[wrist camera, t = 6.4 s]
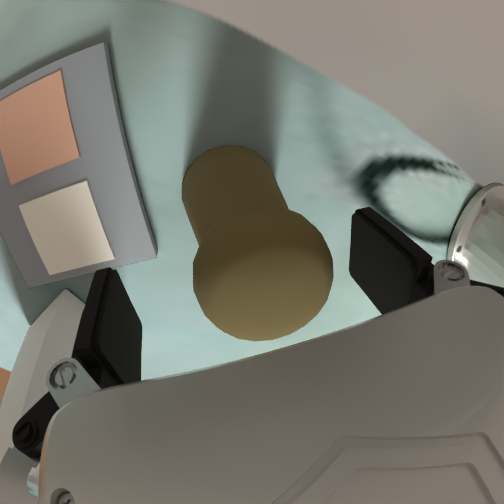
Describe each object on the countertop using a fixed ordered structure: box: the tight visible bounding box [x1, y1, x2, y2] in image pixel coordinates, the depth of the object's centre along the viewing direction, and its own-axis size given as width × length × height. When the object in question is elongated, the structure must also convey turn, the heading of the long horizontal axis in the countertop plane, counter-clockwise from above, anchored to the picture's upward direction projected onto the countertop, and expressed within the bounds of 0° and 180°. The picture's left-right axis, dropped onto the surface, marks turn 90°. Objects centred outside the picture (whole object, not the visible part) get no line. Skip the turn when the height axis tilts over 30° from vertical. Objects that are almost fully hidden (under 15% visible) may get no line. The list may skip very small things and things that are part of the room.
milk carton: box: [0, 289, 85, 463], centre depth 14 cm, size 7×7×19 cm
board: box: [0, 42, 158, 288], centre depth 15 cm, size 11×14×1 cm
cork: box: [182, 146, 333, 341], centre depth 14 cm, size 6×6×11 cm
